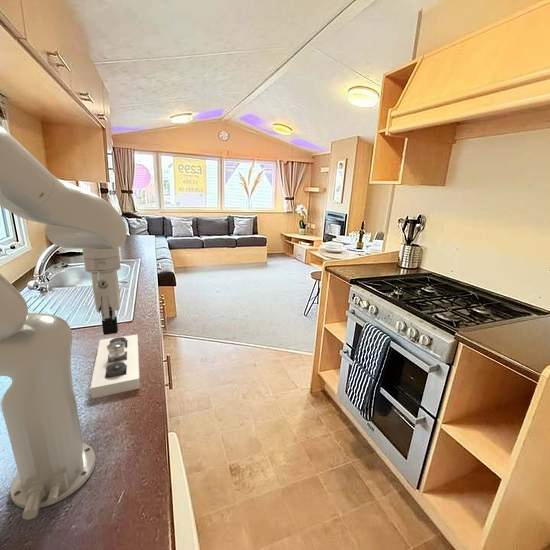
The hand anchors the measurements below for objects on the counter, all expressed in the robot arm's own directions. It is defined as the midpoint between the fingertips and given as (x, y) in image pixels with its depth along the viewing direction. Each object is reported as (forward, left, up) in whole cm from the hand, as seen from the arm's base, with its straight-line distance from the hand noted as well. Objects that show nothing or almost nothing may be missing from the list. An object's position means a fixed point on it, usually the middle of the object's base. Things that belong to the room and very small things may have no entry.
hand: (110, 332), depth 78 cm
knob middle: (+8, 0, -12) cm, 14 cm away
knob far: (+15, 0, -14) cm, 21 cm away
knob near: (0, 0, -14) cm, 14 cm away
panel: (+8, 0, -15) cm, 17 cm away
